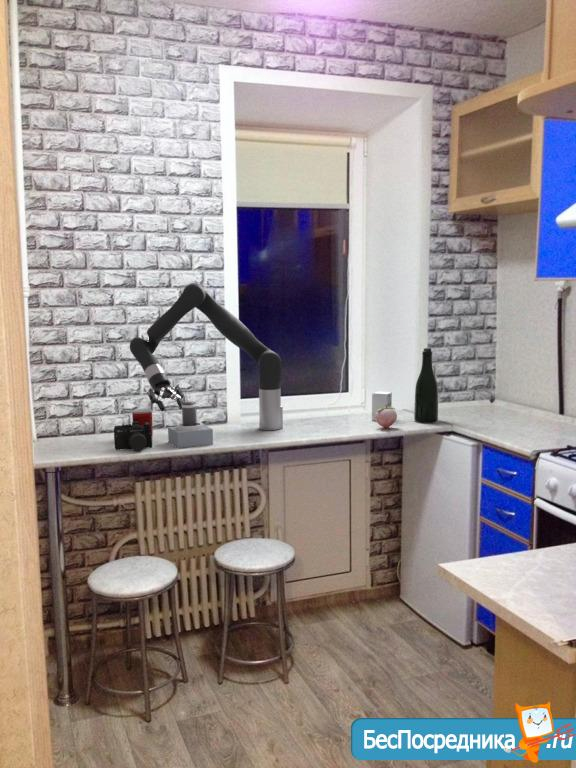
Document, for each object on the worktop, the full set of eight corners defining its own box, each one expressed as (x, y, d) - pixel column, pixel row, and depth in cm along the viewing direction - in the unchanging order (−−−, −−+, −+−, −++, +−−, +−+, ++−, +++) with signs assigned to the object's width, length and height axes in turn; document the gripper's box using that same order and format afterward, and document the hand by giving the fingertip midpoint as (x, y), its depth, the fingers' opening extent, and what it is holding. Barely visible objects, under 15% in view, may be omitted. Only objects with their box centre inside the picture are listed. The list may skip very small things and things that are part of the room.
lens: (193, 426, 264) (193, 401, 263) (198, 428, 259) (197, 403, 258) (180, 427, 262) (179, 402, 261) (184, 430, 257) (184, 404, 256)
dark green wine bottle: (413, 419, 309) (414, 347, 305) (436, 419, 308) (437, 347, 304) (415, 423, 298) (416, 349, 294) (439, 423, 297) (440, 349, 293)
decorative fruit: (386, 425, 294) (387, 402, 293) (400, 428, 288) (400, 405, 286) (370, 428, 289) (370, 405, 288) (383, 431, 282) (384, 407, 281)
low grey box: (202, 438, 270) (201, 420, 269) (213, 444, 259) (212, 425, 258) (168, 442, 264) (167, 423, 263) (177, 448, 253) (177, 428, 252)
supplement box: (387, 421, 303) (387, 394, 301) (371, 420, 306) (371, 393, 304) (391, 419, 310) (392, 391, 308) (376, 418, 313) (376, 391, 311)
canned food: (156, 435, 277) (155, 409, 275) (146, 439, 269) (145, 412, 268) (139, 434, 279) (138, 408, 278) (129, 438, 271) (128, 411, 270)
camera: (115, 454, 245) (114, 427, 243) (114, 448, 255) (113, 422, 253) (154, 451, 248) (153, 425, 247) (151, 445, 259) (150, 420, 257)
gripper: (144, 373, 268) (161, 404, 261) (175, 370, 278) (191, 401, 271) (138, 385, 273) (154, 416, 266) (168, 382, 282) (184, 412, 275)
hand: (173, 408), depth 268 cm, fingers open, 8 cm apart
